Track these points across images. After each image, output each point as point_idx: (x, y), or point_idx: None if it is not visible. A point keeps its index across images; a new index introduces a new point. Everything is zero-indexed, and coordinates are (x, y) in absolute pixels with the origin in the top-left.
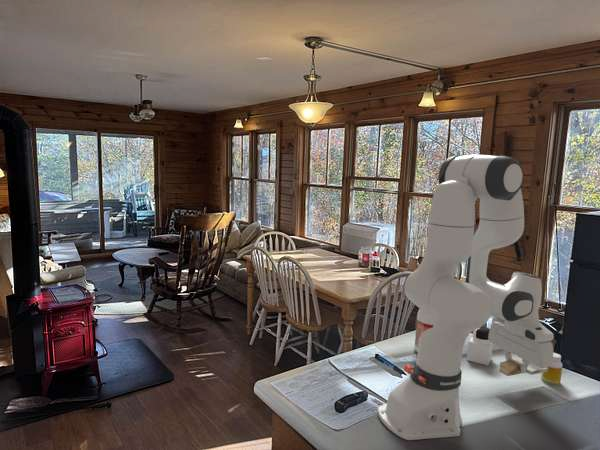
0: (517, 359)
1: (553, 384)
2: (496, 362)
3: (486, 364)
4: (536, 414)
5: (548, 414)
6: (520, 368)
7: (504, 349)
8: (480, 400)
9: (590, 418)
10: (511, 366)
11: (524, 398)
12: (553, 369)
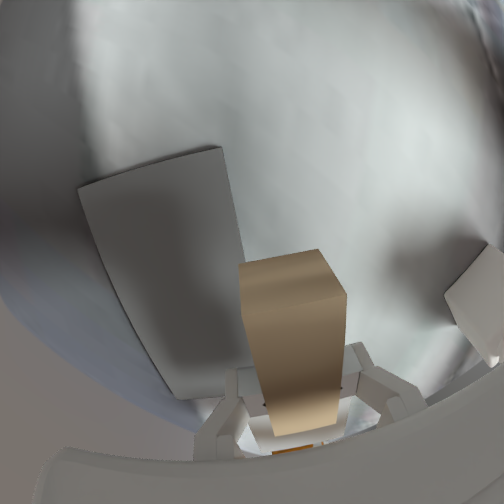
0: (333, 414)
1: None
2: (440, 331)
3: (449, 292)
4: (92, 255)
5: (99, 298)
6: (239, 384)
7: (419, 411)
8: (211, 55)
9: (106, 383)
10: (250, 344)
11: (189, 281)
12: (279, 451)
